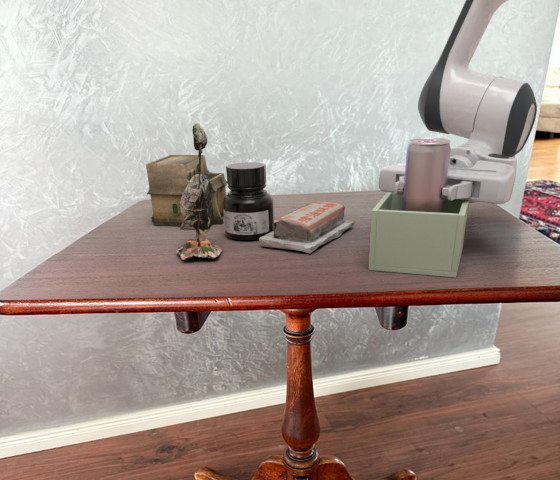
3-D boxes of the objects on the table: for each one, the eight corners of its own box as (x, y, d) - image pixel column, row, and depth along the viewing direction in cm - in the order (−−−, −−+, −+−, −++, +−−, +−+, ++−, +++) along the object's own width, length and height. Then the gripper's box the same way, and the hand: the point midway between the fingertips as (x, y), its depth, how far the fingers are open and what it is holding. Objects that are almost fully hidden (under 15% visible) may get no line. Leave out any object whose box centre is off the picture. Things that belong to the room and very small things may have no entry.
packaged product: (307, 196, 103) (355, 201, 99) (307, 222, 105) (354, 227, 101) (257, 218, 90) (310, 225, 85) (258, 247, 92) (310, 255, 88)
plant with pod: (229, 242, 95) (220, 117, 85) (217, 263, 85) (205, 125, 75) (184, 243, 96) (169, 118, 86) (167, 263, 86) (148, 126, 76)
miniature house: (141, 228, 106) (131, 166, 100) (170, 210, 117) (163, 154, 112) (213, 230, 102) (207, 166, 96) (236, 212, 114) (232, 154, 108)
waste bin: (462, 251, 87) (470, 195, 83) (456, 277, 77) (464, 215, 72) (383, 245, 91) (387, 191, 87) (368, 270, 81) (371, 210, 76)
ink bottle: (216, 240, 97) (209, 169, 91) (233, 227, 104) (228, 160, 98) (268, 243, 94) (265, 170, 88) (281, 229, 102) (279, 161, 96)
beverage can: (392, 243, 84) (399, 139, 77) (426, 238, 86) (436, 136, 78) (412, 254, 80) (421, 144, 72) (447, 249, 81) (460, 141, 73)
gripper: (402, 150, 91) (360, 163, 82) (528, 158, 80) (496, 174, 71) (399, 189, 95) (358, 205, 85) (520, 202, 83) (488, 222, 74)
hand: (422, 191), depth 78 cm, fingers closed on beverage can, 6 cm apart
